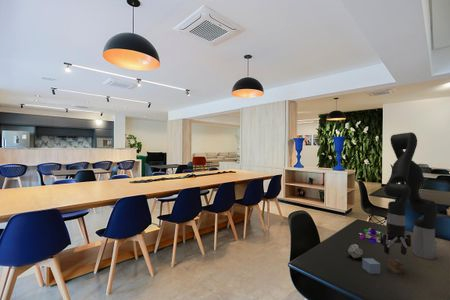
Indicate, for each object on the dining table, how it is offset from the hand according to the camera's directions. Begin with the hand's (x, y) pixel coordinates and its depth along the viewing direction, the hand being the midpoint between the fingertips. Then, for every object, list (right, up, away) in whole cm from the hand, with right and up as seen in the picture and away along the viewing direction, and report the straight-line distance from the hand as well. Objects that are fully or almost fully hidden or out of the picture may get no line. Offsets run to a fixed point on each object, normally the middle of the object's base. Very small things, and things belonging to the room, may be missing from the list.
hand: (395, 254), depth 112 cm
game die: (-13, -8, +12) cm, 20 cm away
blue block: (-13, -8, 0) cm, 15 cm away
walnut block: (0, -9, 0) cm, 9 cm away
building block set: (+20, -10, +43) cm, 48 cm away
